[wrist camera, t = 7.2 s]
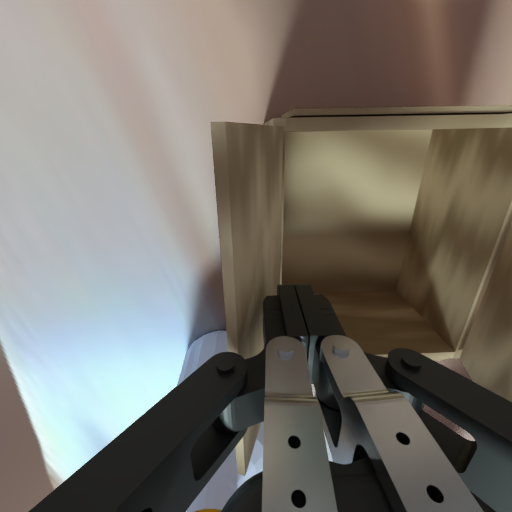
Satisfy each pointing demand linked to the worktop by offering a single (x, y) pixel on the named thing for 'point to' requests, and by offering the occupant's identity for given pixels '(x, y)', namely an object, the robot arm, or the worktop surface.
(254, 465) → the soap bottle
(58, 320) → the worktop surface
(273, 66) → the worktop surface
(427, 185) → the wooden box
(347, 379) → the robot arm
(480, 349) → the flap
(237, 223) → the flap
